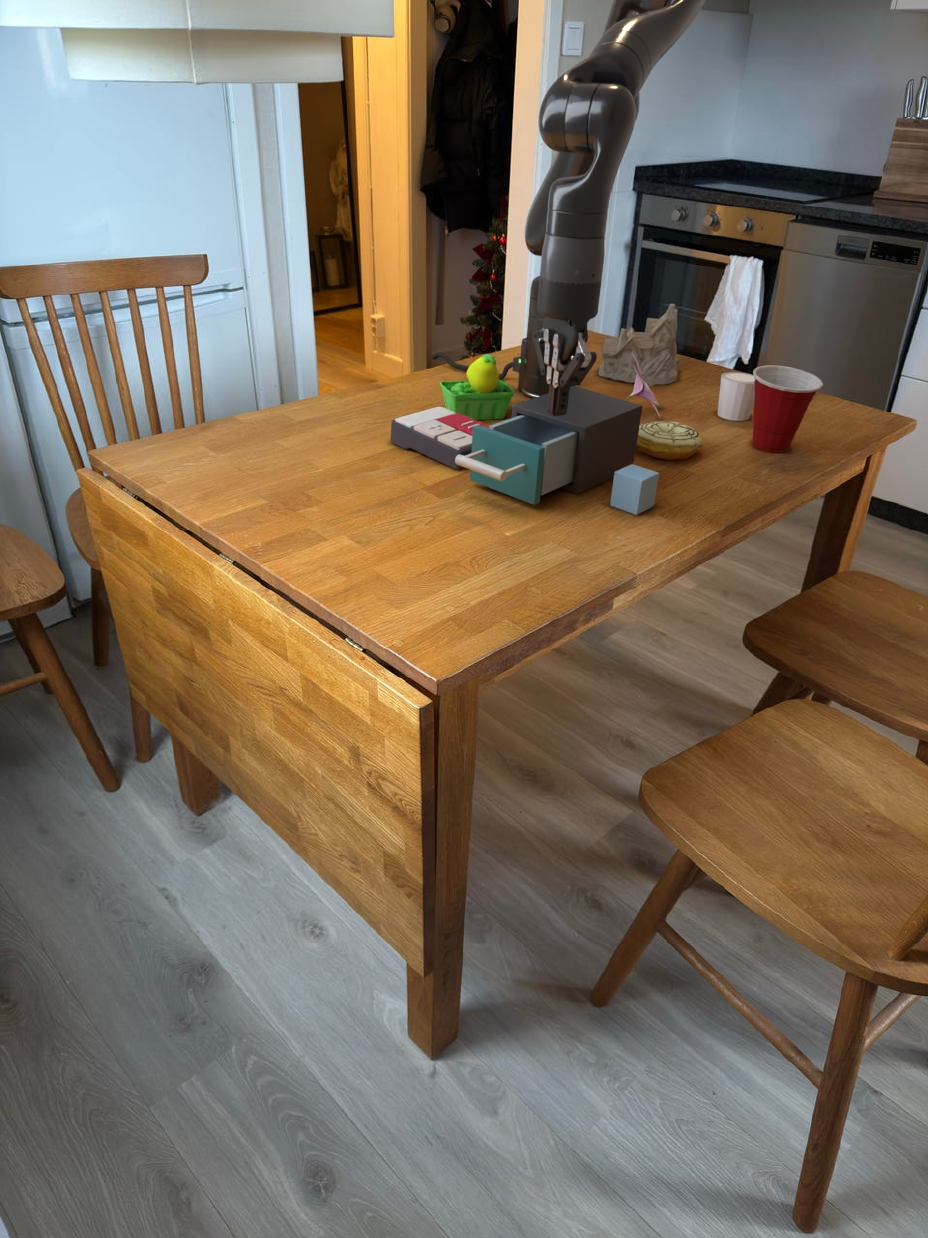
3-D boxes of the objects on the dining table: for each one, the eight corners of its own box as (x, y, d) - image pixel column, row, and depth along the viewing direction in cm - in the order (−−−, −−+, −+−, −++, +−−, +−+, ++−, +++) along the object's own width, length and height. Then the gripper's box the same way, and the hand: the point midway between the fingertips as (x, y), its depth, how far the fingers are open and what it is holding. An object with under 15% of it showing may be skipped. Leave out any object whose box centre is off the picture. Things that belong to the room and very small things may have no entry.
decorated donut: (713, 453, 144) (717, 430, 142) (672, 467, 137) (676, 444, 136) (661, 434, 150) (665, 412, 148) (620, 447, 144) (623, 424, 142)
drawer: (508, 516, 117) (513, 459, 113) (443, 490, 124) (445, 435, 119) (591, 478, 130) (598, 426, 126) (528, 456, 136) (533, 406, 132)
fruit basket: (498, 406, 159) (503, 342, 153) (516, 423, 152) (522, 356, 146) (437, 410, 156) (439, 344, 150) (452, 427, 148) (455, 359, 143)
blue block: (609, 505, 124) (614, 471, 122) (626, 496, 127) (631, 463, 124) (636, 515, 122) (642, 481, 119) (653, 506, 125) (659, 472, 122)
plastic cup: (766, 462, 142) (784, 387, 135) (724, 439, 150) (739, 367, 144) (819, 455, 145) (839, 382, 139) (775, 432, 154) (792, 363, 148)
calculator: (459, 447, 130) (390, 415, 138) (457, 474, 133) (389, 441, 141) (509, 431, 137) (440, 401, 145) (506, 457, 140) (438, 426, 148)
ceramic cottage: (684, 367, 186) (692, 292, 178) (670, 391, 173) (678, 311, 165) (610, 361, 191) (615, 288, 183) (591, 384, 178) (595, 306, 170)
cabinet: (577, 494, 127) (585, 427, 122) (507, 468, 134) (512, 404, 129) (633, 467, 137) (642, 405, 132) (565, 445, 144) (572, 385, 139)
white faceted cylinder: (757, 422, 158) (765, 383, 154) (718, 420, 158) (726, 381, 154) (747, 410, 164) (755, 372, 160) (710, 408, 164) (717, 370, 160)
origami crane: (641, 434, 153) (676, 386, 149) (588, 394, 156) (621, 346, 152) (657, 435, 164) (690, 391, 160) (607, 398, 166) (638, 353, 163)
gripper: (626, 284, 104) (607, 427, 113) (571, 263, 115) (557, 396, 124) (570, 286, 102) (555, 433, 111) (519, 264, 112) (508, 400, 121)
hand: (556, 413), depth 117 cm, fingers closed
